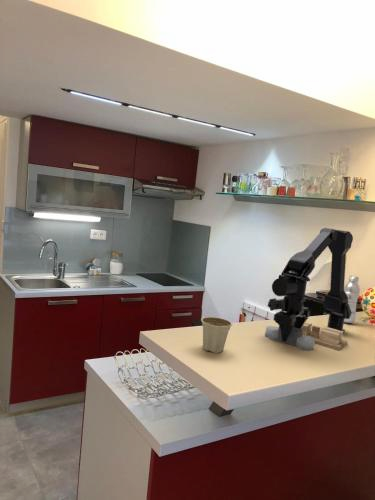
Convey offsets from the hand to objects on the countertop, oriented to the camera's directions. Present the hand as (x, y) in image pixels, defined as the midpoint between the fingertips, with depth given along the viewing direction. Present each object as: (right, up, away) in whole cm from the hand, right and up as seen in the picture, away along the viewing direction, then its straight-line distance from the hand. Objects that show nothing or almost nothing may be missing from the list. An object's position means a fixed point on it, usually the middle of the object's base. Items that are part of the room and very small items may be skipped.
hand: (289, 338), depth 139 cm
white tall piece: (+33, -1, +35) cm, 49 cm away
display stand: (+11, -2, +7) cm, 13 cm away
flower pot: (-27, 0, -15) cm, 31 cm away
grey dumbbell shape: (0, -1, 0) cm, 1 cm away
